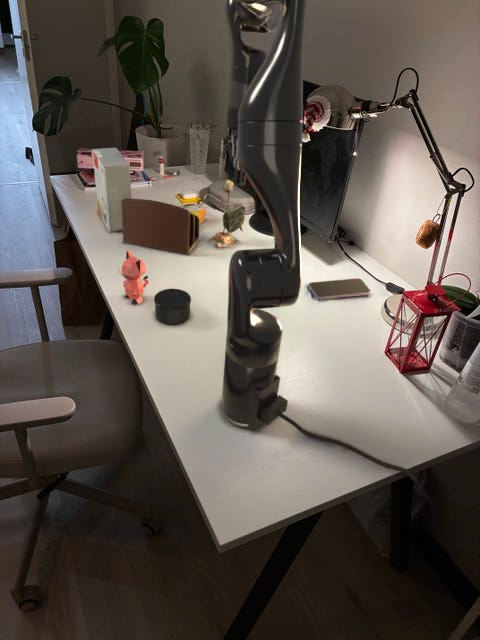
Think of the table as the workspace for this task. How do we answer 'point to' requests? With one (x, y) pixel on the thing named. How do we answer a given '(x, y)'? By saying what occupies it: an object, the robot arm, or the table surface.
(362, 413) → the table surface
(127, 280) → the cat figurine
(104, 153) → the hard drive box
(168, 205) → the letter holder
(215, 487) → the table surface
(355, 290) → the smartphone
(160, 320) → the steel tin
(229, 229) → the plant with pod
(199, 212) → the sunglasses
